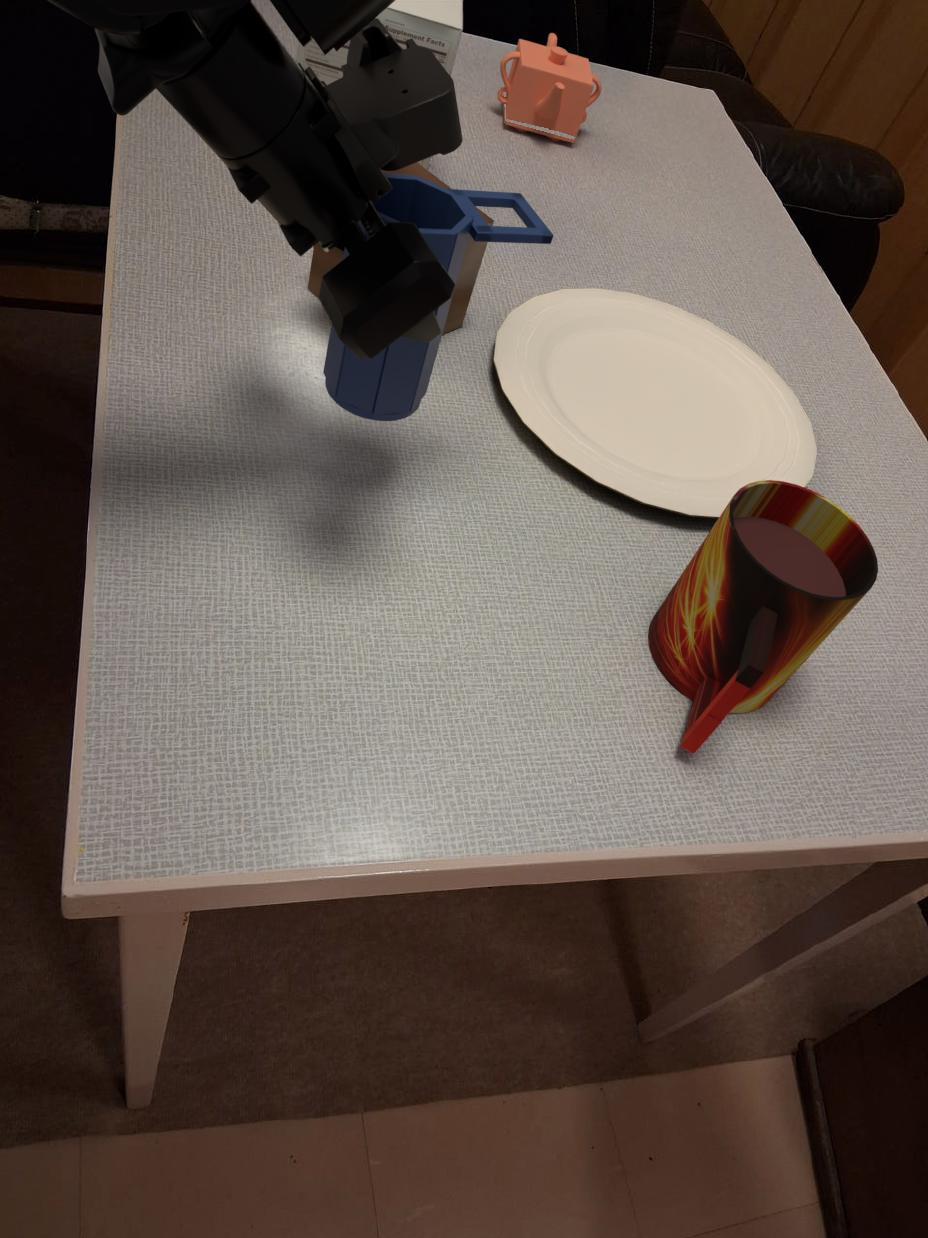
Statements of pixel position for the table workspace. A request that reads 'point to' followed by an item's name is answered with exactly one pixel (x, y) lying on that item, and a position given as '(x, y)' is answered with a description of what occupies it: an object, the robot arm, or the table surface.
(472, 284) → the hook box
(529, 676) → the table surface
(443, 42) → the supplement box
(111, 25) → the robot arm
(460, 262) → the measuring cup
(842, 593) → the mug
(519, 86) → the teapot
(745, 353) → the plate
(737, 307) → the table surface
